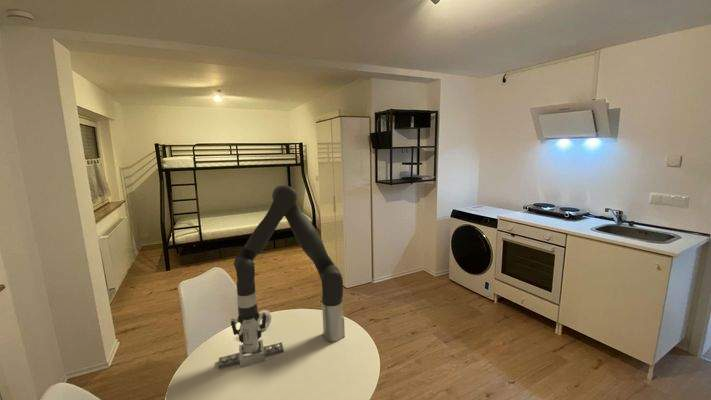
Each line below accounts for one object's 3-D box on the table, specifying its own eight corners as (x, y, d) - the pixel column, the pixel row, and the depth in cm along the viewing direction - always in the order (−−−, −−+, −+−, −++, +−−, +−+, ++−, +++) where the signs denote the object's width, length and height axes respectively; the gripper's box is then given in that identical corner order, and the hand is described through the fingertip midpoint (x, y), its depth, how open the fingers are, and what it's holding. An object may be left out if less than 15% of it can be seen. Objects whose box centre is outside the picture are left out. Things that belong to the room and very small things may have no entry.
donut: (269, 324, 153) (267, 305, 151) (273, 326, 151) (272, 307, 149) (252, 334, 145) (250, 314, 143) (256, 336, 143) (254, 316, 141)
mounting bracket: (281, 342, 138) (280, 335, 138) (284, 355, 130) (284, 348, 129) (219, 357, 129) (218, 350, 129) (218, 372, 120) (217, 364, 120)
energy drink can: (240, 352, 127) (237, 319, 125) (250, 343, 133) (247, 312, 130) (252, 355, 125) (249, 322, 123) (261, 346, 131) (259, 314, 128)
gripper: (264, 295, 131) (267, 330, 134) (228, 301, 126) (232, 338, 129) (266, 303, 124) (269, 340, 127) (228, 310, 119) (232, 349, 122)
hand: (250, 339), depth 128 cm, fingers closed on energy drink can, 6 cm apart
